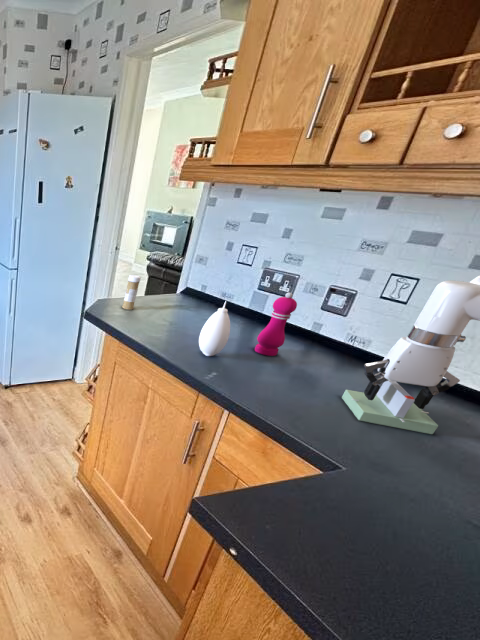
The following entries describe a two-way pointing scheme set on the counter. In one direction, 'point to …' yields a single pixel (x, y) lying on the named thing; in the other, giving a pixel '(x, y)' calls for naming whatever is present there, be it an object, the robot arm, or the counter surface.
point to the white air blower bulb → (215, 332)
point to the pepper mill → (276, 326)
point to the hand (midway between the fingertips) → (392, 401)
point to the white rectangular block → (395, 398)
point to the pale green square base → (387, 413)
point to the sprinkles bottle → (131, 292)
